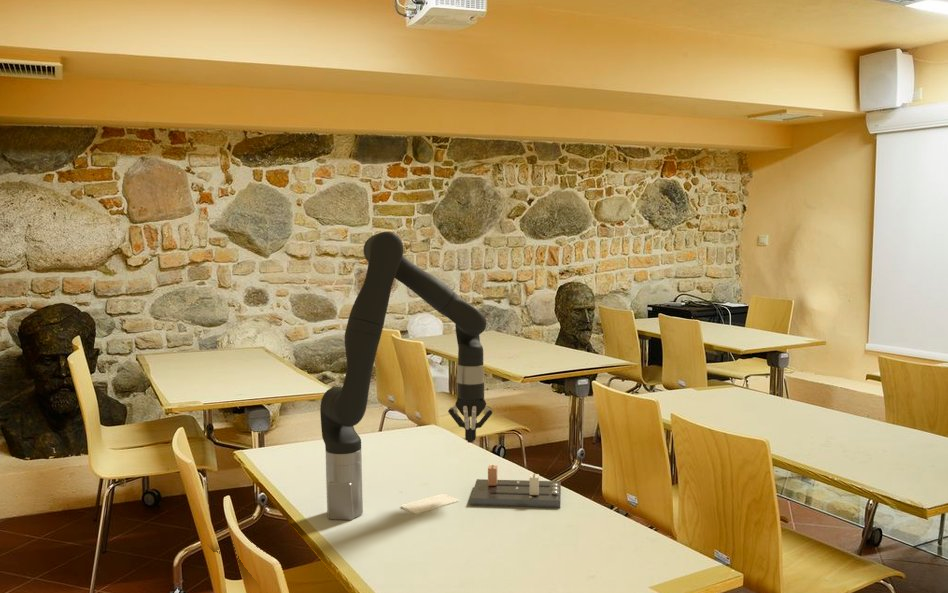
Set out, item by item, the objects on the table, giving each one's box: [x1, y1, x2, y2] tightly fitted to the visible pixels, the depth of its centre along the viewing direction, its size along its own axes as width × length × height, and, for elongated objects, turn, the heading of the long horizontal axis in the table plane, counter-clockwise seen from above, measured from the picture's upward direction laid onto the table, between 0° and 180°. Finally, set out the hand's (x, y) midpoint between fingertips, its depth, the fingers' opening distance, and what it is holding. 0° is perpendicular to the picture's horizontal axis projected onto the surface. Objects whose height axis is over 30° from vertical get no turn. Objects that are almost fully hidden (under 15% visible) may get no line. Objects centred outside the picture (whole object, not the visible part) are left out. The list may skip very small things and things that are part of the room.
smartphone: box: [400, 493, 460, 515], centre depth 218 cm, size 7×1×15 cm
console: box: [469, 478, 562, 509], centre depth 223 cm, size 16×24×3 cm, turn 84°
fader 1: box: [487, 464, 498, 486], centre depth 227 cm, size 3×2×5 cm
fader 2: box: [529, 473, 540, 495], centre depth 218 cm, size 3×2×5 cm
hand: (470, 441), depth 225 cm, fingers closed
